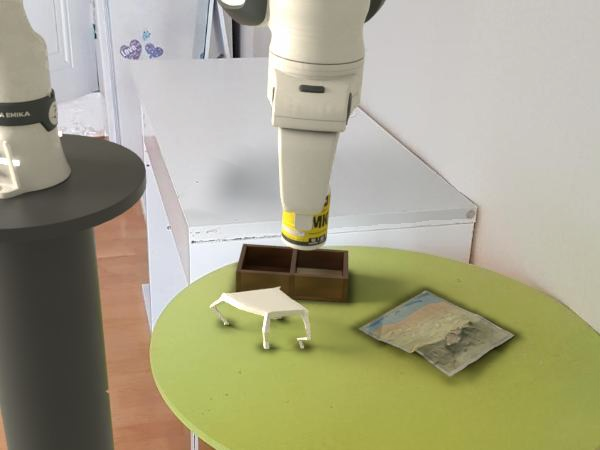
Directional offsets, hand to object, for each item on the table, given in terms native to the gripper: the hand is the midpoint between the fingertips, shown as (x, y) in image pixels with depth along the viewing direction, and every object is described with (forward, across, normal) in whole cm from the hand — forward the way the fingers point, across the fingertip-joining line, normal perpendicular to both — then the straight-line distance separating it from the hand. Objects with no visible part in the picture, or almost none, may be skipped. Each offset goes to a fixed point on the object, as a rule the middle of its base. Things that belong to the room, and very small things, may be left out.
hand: (305, 213), depth 77 cm
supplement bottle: (+3, 0, 0) cm, 3 cm away
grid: (+18, -16, -2) cm, 24 cm away
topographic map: (+18, -7, +17) cm, 26 cm away
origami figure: (+19, -4, -5) cm, 20 cm away
